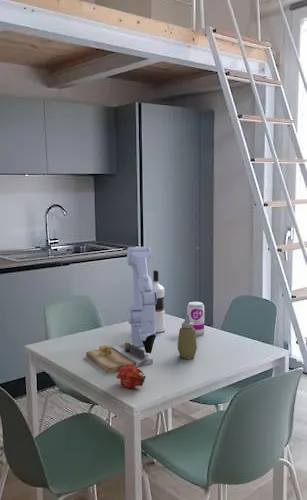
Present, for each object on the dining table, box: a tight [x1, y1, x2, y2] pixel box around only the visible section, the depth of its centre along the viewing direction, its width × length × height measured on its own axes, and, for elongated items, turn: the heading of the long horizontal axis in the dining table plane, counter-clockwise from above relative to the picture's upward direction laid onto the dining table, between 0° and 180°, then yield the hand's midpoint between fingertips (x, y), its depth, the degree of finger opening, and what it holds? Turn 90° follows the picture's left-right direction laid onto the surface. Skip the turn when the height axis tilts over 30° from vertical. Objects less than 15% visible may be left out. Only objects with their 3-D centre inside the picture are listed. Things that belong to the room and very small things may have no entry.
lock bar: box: [124, 340, 145, 359], centre depth 196 cm, size 14×3×4 cm, turn 31°
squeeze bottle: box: [177, 313, 198, 360], centre depth 198 cm, size 8×8×18 cm
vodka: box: [152, 269, 167, 334], centre depth 235 cm, size 9×9×30 cm
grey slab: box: [85, 344, 154, 374], centre depth 196 cm, size 19×22×5 cm
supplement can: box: [186, 301, 205, 337], centre depth 230 cm, size 8×8×15 cm
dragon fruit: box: [115, 363, 147, 391], centre depth 169 cm, size 8×8×12 cm
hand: (148, 352), depth 197 cm, fingers closed
